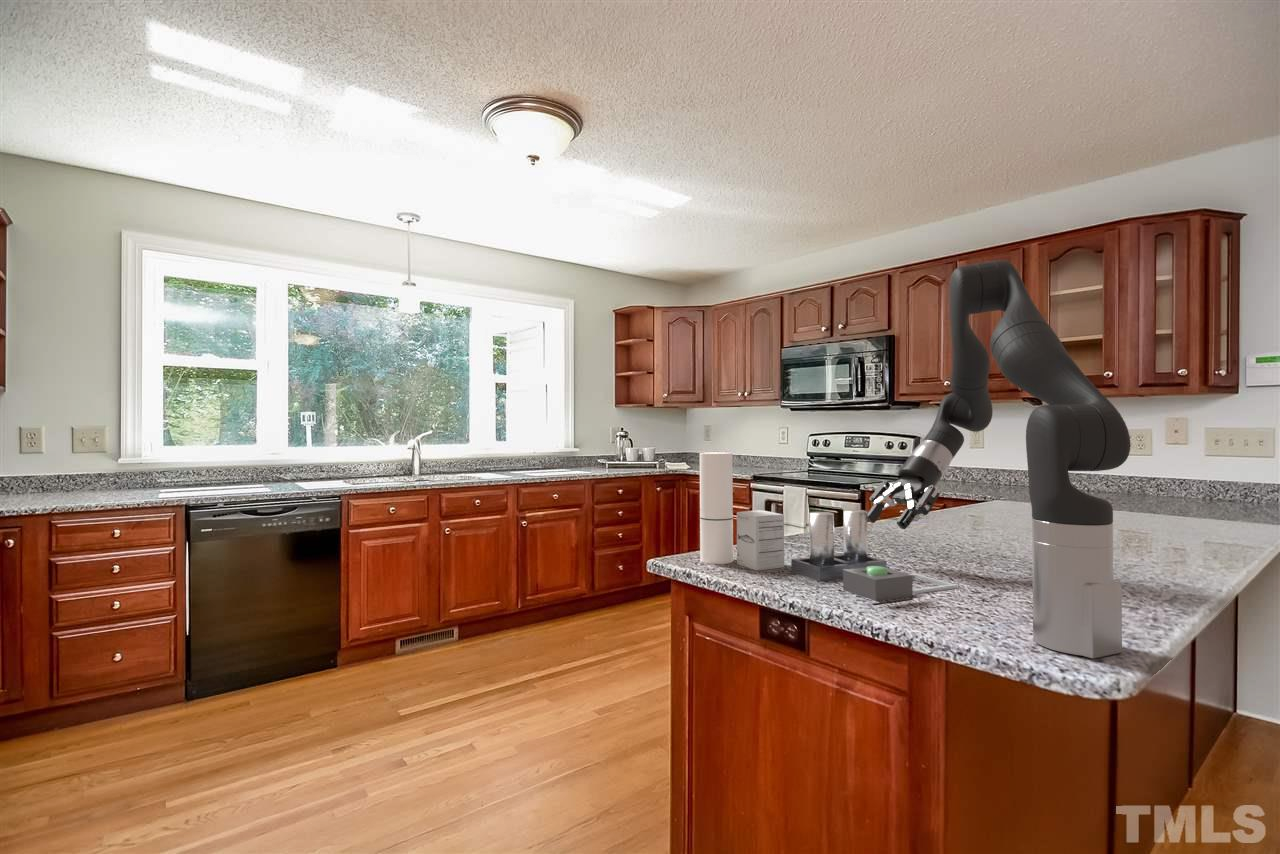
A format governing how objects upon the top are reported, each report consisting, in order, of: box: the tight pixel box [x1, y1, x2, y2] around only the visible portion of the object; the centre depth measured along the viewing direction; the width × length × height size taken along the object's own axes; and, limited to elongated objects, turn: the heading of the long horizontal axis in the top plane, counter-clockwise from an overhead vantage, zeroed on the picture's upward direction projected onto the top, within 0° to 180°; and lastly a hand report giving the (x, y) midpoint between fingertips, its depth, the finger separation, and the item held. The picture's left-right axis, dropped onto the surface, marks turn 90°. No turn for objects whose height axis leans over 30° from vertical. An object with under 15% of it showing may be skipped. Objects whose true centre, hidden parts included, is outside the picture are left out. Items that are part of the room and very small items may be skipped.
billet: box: [842, 509, 869, 563], centre depth 126 cm, size 5×5×12 cm
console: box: [842, 567, 914, 606], centre depth 109 cm, size 8×8×5 cm
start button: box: [867, 566, 888, 576], centre depth 109 cm, size 3×3×3 cm
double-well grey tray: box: [790, 553, 888, 583], centre depth 125 cm, size 9×16×4 cm, turn 112°
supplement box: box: [736, 509, 785, 571], centre depth 132 cm, size 7×7×13 cm
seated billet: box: [809, 511, 835, 566], centre depth 123 cm, size 5×5×12 cm
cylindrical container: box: [699, 451, 734, 565], centre depth 137 cm, size 7×7×25 cm
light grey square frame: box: [908, 572, 958, 595], centre depth 115 cm, size 10×10×2 cm
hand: (884, 523), depth 129 cm, fingers open, 8 cm apart
